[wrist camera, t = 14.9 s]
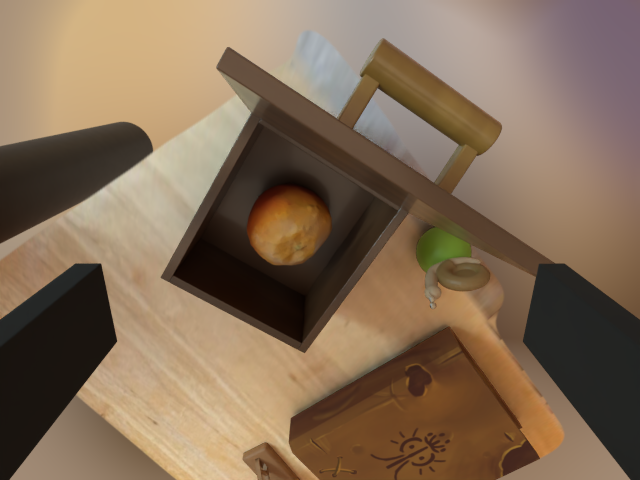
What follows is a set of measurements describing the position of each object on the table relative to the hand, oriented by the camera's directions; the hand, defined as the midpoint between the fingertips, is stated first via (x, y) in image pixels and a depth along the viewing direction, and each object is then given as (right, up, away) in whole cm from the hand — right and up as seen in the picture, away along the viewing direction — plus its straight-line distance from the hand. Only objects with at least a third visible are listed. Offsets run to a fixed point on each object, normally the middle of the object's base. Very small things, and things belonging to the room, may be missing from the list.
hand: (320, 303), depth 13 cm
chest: (-3, +5, +31) cm, 32 cm away
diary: (+11, -21, +41) cm, 48 cm away
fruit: (-3, +5, +31) cm, 31 cm away
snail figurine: (+12, +2, +33) cm, 35 cm away
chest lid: (+2, +6, +11) cm, 12 cm away
